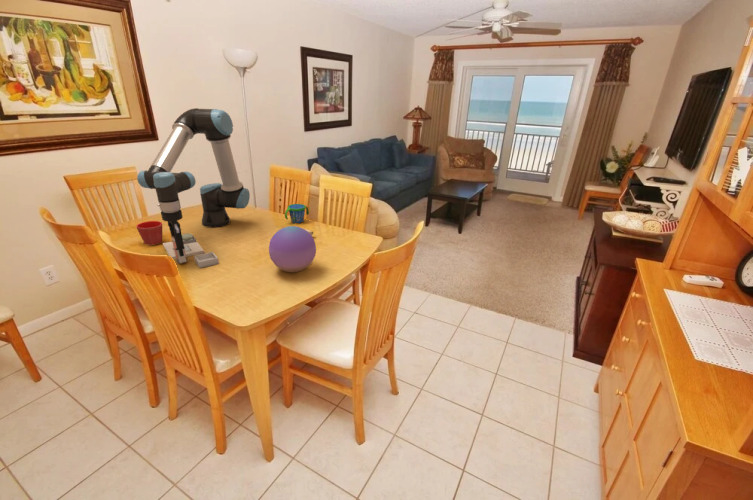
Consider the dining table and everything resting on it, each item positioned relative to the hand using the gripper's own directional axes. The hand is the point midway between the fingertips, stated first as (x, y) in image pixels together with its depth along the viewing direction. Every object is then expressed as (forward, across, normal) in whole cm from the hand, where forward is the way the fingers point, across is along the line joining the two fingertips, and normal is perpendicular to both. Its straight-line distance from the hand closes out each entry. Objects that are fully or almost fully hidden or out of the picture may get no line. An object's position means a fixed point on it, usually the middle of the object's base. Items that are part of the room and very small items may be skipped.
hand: (181, 259), depth 153 cm
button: (-1, -22, +7) cm, 23 cm away
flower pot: (+2, -33, -6) cm, 33 cm away
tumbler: (+1, 0, 0) cm, 1 cm away
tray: (+1, +6, +9) cm, 11 cm away
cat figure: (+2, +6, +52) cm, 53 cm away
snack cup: (+2, -23, +69) cm, 72 cm away
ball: (+2, +34, +38) cm, 51 cm away
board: (+2, -16, +4) cm, 16 cm away
